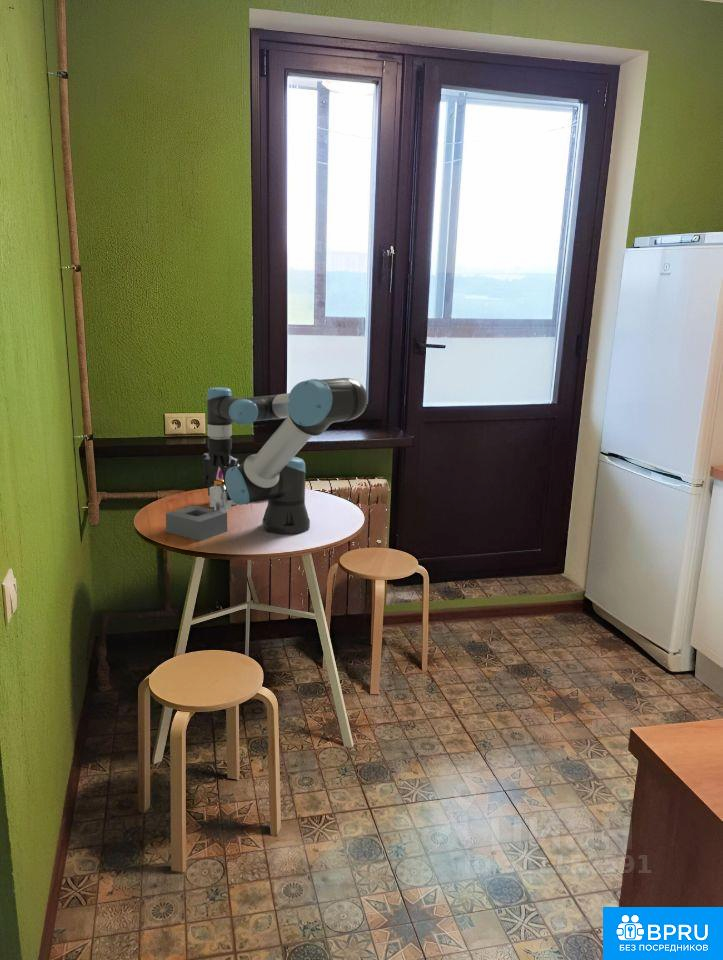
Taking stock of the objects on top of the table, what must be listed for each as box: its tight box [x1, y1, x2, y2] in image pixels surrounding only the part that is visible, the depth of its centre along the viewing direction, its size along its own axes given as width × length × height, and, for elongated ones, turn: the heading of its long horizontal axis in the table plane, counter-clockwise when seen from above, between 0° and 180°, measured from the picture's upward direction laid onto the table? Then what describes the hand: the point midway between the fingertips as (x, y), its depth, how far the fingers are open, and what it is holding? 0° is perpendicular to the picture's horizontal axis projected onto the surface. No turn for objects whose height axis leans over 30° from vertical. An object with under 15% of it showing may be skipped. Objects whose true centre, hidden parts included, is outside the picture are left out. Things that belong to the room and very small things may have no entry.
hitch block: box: [165, 504, 228, 542], centre depth 228 cm, size 14×12×6 cm
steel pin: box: [213, 479, 228, 514], centre depth 237 cm, size 4×4×14 cm
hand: (220, 507), depth 238 cm, fingers open, 5 cm apart
